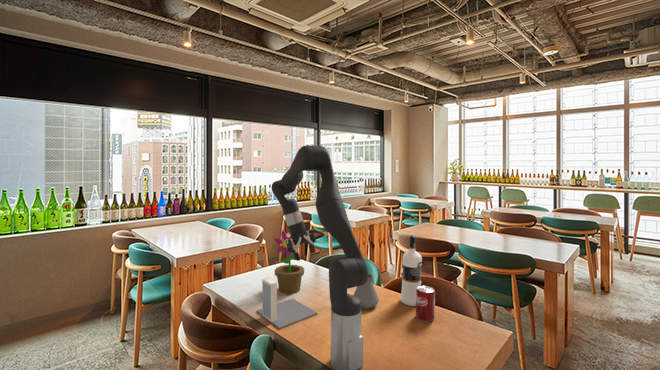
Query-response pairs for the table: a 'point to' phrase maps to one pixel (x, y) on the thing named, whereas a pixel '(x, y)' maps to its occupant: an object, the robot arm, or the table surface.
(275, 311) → the slate tablet
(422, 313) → the soda can
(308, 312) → the rubber mat
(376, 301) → the coffee pot
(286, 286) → the flowerpot
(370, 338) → the table surface
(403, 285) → the vodka
